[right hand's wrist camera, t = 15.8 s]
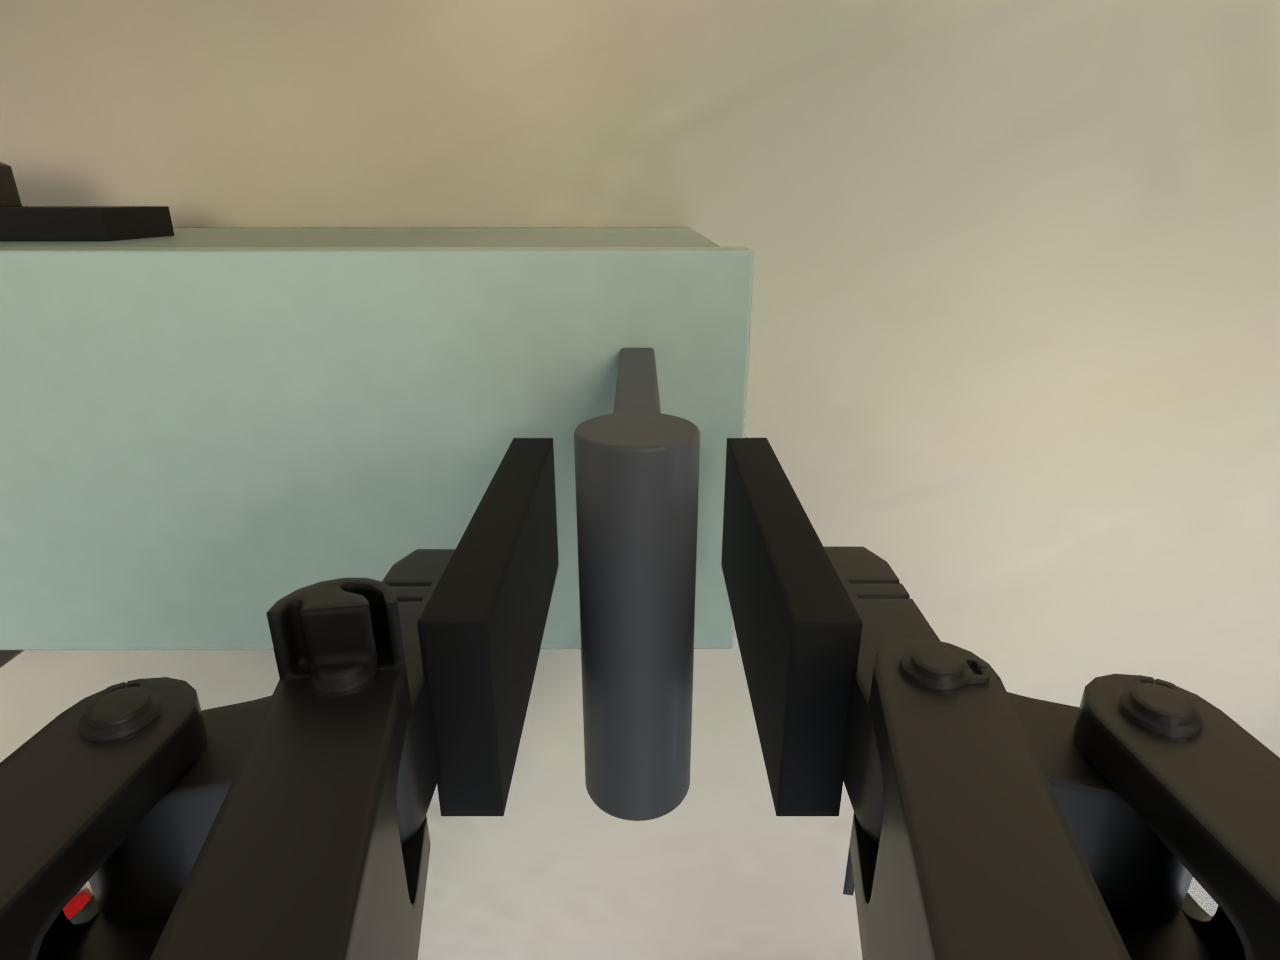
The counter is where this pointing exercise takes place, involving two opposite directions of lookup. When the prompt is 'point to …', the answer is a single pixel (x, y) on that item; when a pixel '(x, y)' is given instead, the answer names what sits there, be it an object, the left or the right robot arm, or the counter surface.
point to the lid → (376, 449)
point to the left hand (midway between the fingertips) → (183, 414)
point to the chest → (403, 238)
